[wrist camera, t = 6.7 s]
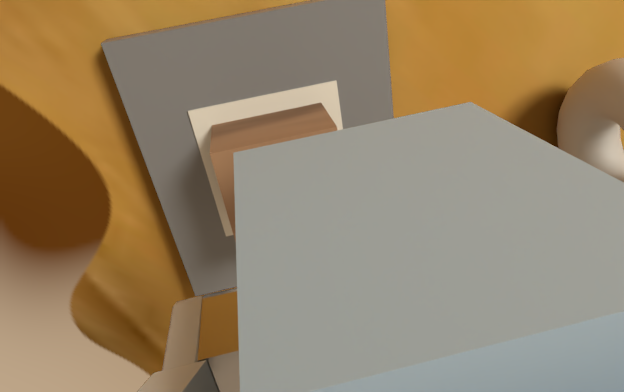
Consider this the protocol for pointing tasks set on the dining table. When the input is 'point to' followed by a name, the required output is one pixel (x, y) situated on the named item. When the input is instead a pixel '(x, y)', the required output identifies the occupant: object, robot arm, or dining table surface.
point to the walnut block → (260, 141)
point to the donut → (595, 118)
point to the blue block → (428, 261)
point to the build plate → (241, 101)
